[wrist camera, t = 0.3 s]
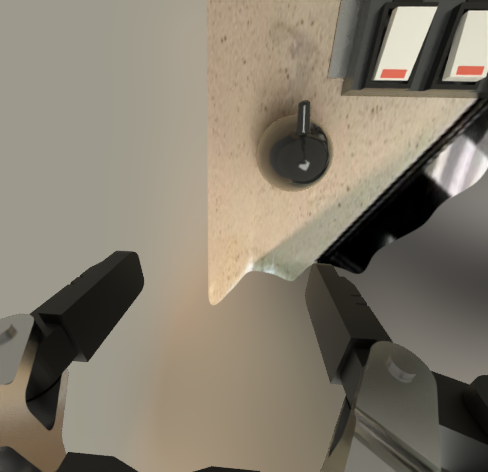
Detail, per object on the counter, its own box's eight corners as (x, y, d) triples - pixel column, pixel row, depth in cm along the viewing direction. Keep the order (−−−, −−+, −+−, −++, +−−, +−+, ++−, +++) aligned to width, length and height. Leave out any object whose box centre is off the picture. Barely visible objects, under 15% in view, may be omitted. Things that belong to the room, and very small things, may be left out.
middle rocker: (459, 17, 22) (469, 9, 21) (496, 18, 22) (508, 9, 20) (441, 80, 23) (450, 76, 22) (476, 81, 23) (486, 76, 22)
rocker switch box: (345, -26, 23) (364, -62, 19) (599, -27, 22) (677, -66, 18) (324, 95, 29) (335, 87, 25) (528, 99, 27) (576, 91, 23)
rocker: (392, 10, 21) (398, 6, 20) (430, 10, 21) (438, 6, 20) (370, 80, 25) (374, 79, 24) (402, 81, 24) (408, 80, 24)
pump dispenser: (317, 110, 30) (370, 84, 16) (317, 179, 34) (358, 204, 20) (252, 123, 31) (249, 109, 17) (260, 187, 35) (263, 217, 22)
